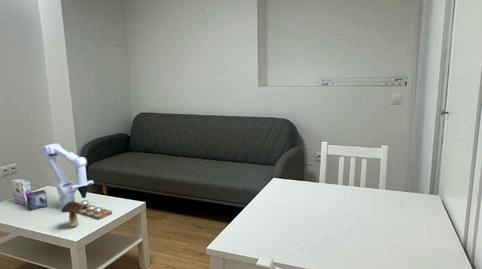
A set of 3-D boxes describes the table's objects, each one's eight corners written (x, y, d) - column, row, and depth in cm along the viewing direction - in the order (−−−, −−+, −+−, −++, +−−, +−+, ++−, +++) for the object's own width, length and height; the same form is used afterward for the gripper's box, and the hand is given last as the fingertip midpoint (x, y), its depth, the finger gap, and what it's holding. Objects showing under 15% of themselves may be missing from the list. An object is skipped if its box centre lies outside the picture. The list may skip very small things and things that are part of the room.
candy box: (34, 203, 241) (30, 180, 238) (25, 206, 236) (21, 183, 233) (23, 200, 248) (20, 177, 245) (14, 203, 243) (11, 180, 240)
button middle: (86, 213, 220) (85, 207, 219) (92, 211, 224) (92, 204, 223) (91, 214, 218) (90, 208, 217) (97, 212, 222) (96, 206, 221)
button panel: (72, 212, 223) (71, 209, 223) (86, 206, 232) (85, 203, 231) (98, 219, 210) (98, 216, 210) (112, 214, 218) (111, 210, 218)
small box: (29, 211, 227) (27, 195, 226) (27, 208, 232) (25, 193, 230) (47, 206, 234) (45, 191, 232) (45, 204, 239) (43, 189, 237)
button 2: (93, 215, 217) (92, 209, 216) (99, 213, 220) (98, 206, 220) (97, 216, 215) (97, 210, 214) (103, 214, 218) (103, 207, 217)
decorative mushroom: (59, 229, 199) (56, 204, 196) (75, 221, 209) (72, 197, 206) (73, 232, 195) (70, 206, 192) (89, 224, 204) (86, 199, 202)
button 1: (79, 208, 223) (79, 201, 222) (86, 205, 227) (85, 199, 226) (84, 209, 221) (83, 203, 220) (90, 207, 225) (89, 200, 224)
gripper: (74, 180, 212) (77, 202, 214) (95, 174, 224) (97, 194, 227) (67, 179, 216) (70, 200, 218) (88, 173, 228) (90, 193, 230)
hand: (83, 197), depth 223 cm, fingers closed
